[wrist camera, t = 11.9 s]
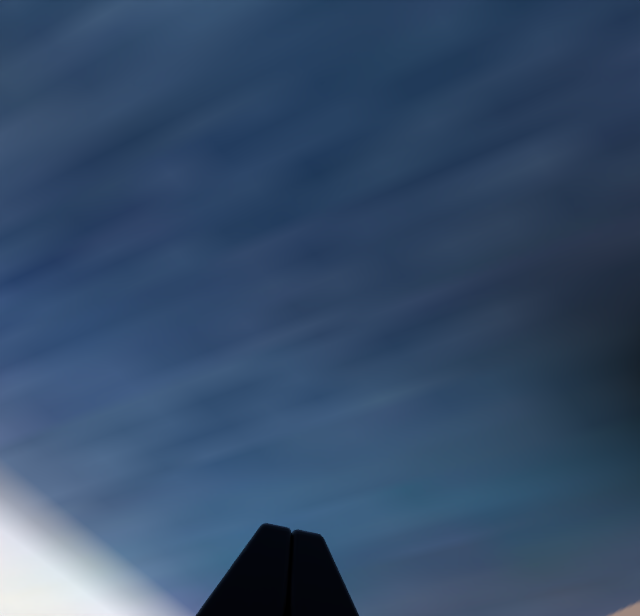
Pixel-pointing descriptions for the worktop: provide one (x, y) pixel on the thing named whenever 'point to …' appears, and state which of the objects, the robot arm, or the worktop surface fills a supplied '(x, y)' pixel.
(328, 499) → the worktop surface
